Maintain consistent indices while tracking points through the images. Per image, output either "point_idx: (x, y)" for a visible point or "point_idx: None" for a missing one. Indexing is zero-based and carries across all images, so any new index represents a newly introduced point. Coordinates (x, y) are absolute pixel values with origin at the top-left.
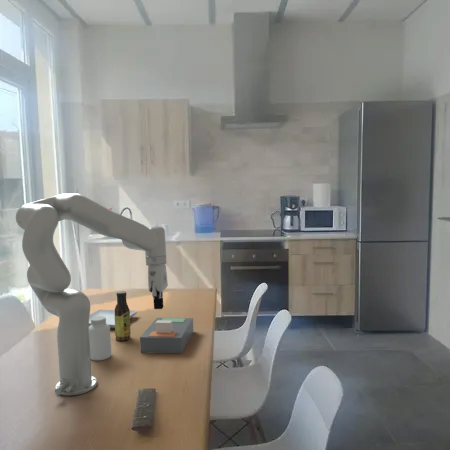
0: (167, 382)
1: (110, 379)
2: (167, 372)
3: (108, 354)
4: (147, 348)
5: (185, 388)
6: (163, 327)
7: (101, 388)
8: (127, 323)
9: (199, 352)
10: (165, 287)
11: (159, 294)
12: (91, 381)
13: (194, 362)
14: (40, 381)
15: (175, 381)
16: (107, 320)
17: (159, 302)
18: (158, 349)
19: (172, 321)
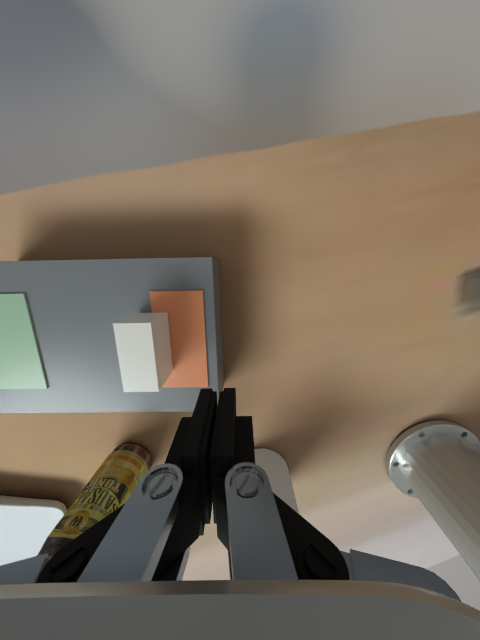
0: (429, 248)
1: (396, 401)
2: (362, 266)
3: (271, 456)
4: (222, 369)
5: (475, 181)
6: (162, 348)
7: (444, 403)
8: (111, 490)
9: (204, 195)
10: (94, 637)
11: (286, 543)
12: (434, 436)
13: (289, 195)
14: (394, 529)
15: (425, 225)
16: (9, 540)
17: (251, 443)
18: (220, 335)
19: (28, 341)
